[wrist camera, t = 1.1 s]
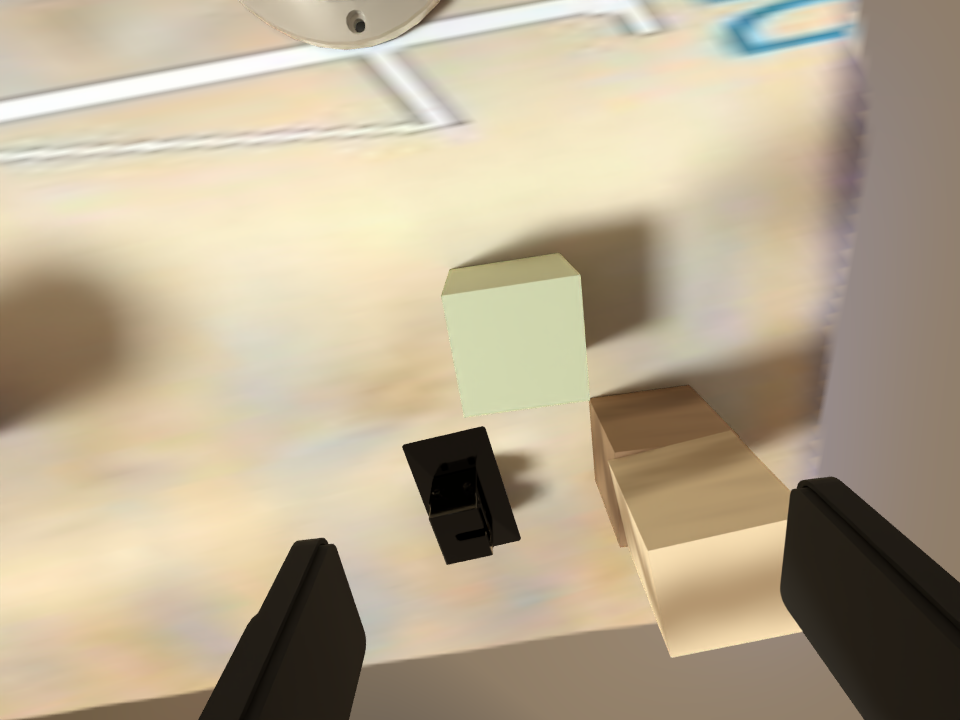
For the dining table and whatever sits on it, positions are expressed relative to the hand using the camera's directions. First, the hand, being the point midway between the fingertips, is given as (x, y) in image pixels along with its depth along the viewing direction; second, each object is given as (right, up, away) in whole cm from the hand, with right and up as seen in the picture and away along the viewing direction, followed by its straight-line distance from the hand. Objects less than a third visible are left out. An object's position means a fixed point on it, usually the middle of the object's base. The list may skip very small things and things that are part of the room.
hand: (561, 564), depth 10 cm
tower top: (+8, -3, +14) cm, 17 cm away
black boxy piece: (-3, -4, +22) cm, 23 cm away
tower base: (+8, 0, +20) cm, 22 cm away
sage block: (0, +7, +17) cm, 18 cm away
